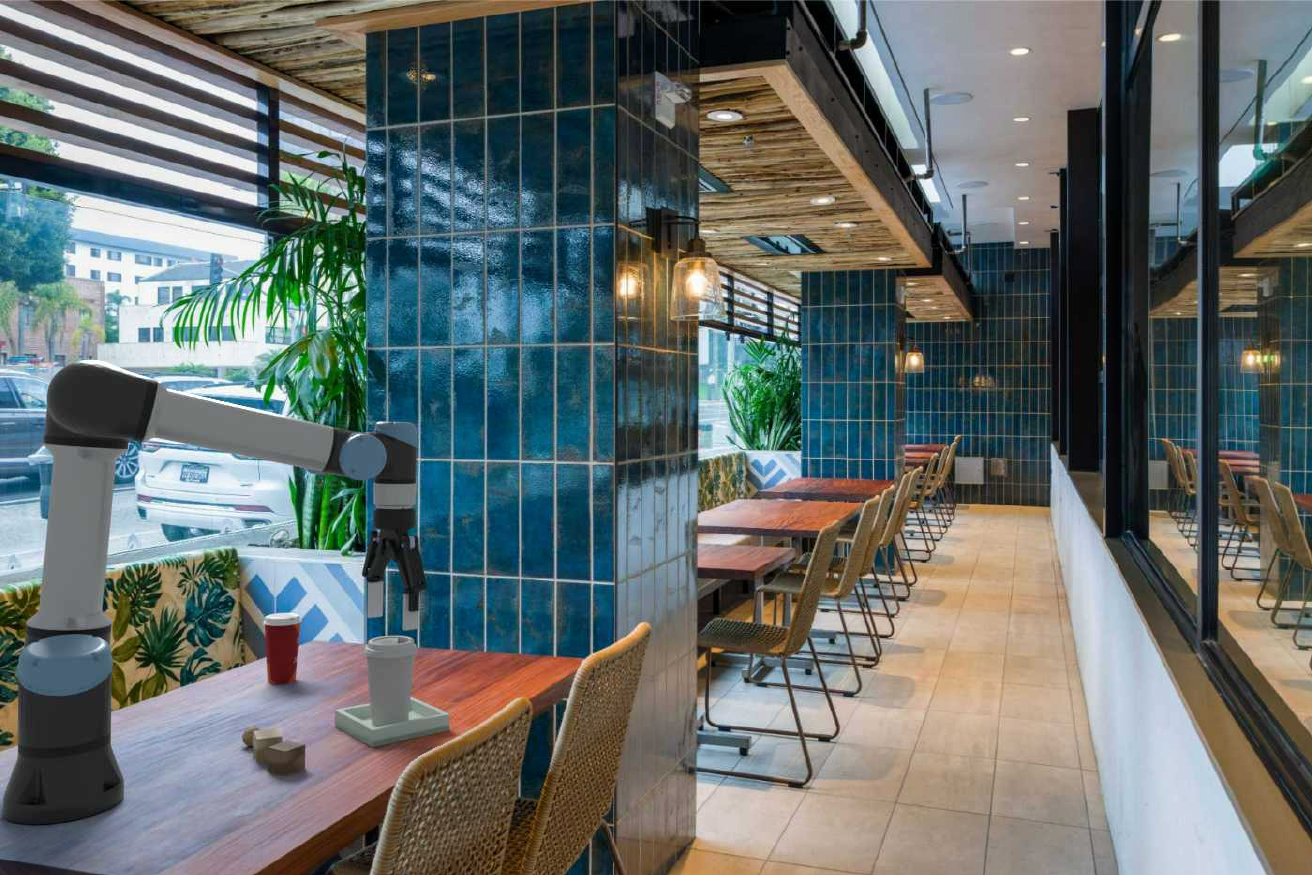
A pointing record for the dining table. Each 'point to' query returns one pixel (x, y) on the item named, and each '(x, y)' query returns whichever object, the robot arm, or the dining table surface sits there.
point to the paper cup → (282, 646)
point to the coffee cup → (390, 678)
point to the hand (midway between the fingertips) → (392, 623)
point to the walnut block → (286, 758)
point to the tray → (419, 724)
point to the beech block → (265, 743)
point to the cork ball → (249, 736)
